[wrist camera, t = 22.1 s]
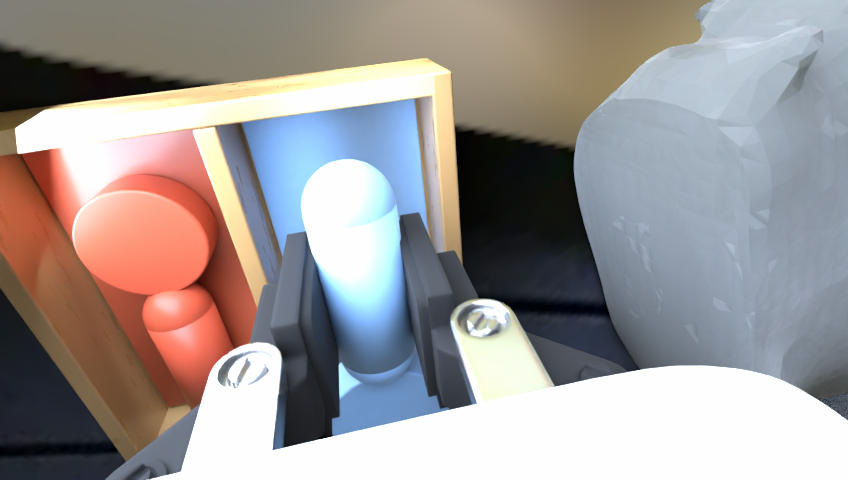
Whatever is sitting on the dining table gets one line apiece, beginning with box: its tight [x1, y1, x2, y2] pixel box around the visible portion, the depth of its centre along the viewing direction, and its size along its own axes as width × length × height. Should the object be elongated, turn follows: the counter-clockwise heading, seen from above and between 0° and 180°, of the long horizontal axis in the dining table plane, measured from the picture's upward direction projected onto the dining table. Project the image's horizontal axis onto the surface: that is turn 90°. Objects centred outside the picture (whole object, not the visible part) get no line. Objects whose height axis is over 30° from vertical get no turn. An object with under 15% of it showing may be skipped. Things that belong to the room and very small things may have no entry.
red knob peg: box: [72, 175, 234, 411], centre depth 15 cm, size 10×4×2 cm, turn 6°
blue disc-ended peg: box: [301, 159, 449, 436], centre depth 12 cm, size 10×4×2 cm, turn 6°
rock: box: [574, 0, 848, 400], centre depth 16 cm, size 18×11×8 cm, turn 23°
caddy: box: [0, 58, 463, 462], centre depth 15 cm, size 13×13×3 cm
